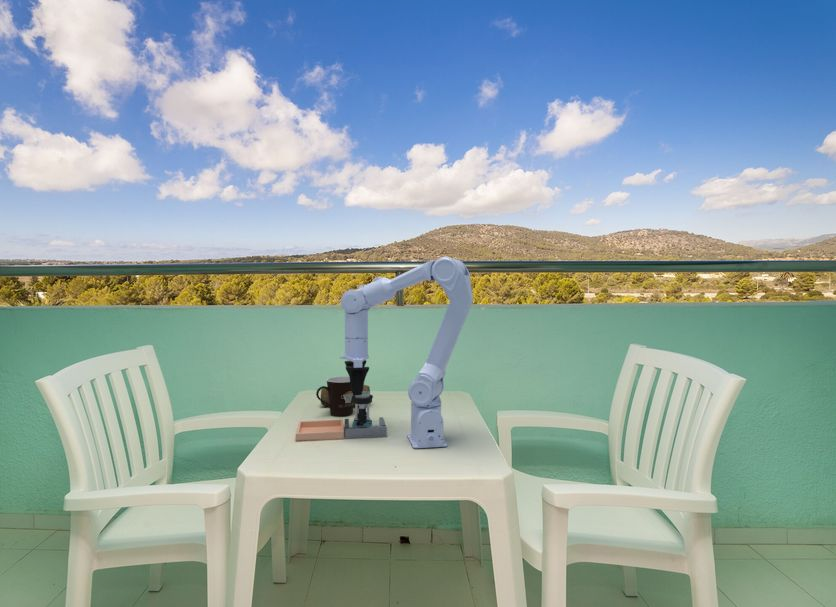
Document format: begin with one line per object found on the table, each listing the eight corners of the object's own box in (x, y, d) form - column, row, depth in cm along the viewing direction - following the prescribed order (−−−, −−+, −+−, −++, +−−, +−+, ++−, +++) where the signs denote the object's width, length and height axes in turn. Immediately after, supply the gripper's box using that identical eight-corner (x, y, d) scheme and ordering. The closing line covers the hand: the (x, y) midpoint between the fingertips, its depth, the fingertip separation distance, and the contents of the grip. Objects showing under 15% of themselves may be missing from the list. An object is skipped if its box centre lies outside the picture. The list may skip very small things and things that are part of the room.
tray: (343, 439, 107) (343, 431, 107) (295, 441, 105) (295, 433, 105) (342, 426, 117) (342, 419, 117) (298, 428, 115) (298, 421, 115)
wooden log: (369, 402, 143) (369, 381, 143) (370, 408, 136) (370, 386, 136) (321, 403, 141) (322, 382, 141) (320, 409, 134) (320, 387, 134)
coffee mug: (354, 409, 135) (354, 376, 134) (358, 416, 126) (358, 381, 126) (315, 411, 132) (315, 377, 131) (316, 419, 123) (316, 383, 123)
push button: (378, 428, 116) (379, 390, 116) (376, 435, 111) (376, 395, 110) (353, 427, 116) (353, 389, 116) (349, 434, 111) (350, 394, 111)
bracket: (386, 436, 110) (386, 427, 109) (345, 438, 108) (345, 428, 108) (382, 426, 118) (382, 417, 118) (344, 428, 116) (344, 418, 116)
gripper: (339, 335, 119) (339, 386, 119) (340, 341, 104) (340, 399, 105) (366, 334, 120) (366, 385, 120) (371, 340, 106) (371, 397, 106)
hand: (356, 391), depth 113 cm, fingers open, 7 cm apart
